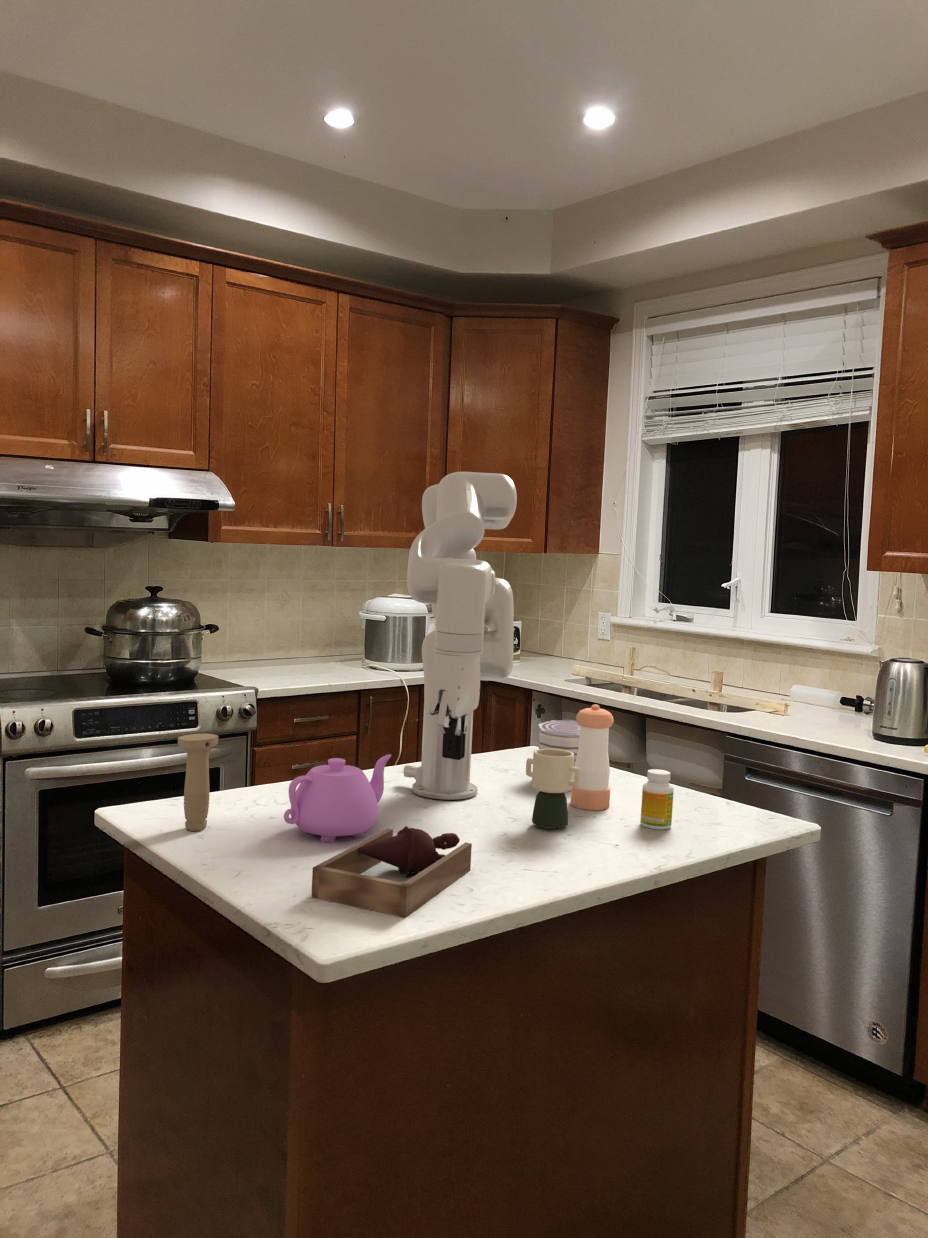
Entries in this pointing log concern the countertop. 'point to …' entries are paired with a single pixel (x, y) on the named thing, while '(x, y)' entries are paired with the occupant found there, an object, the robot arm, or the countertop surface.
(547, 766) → the character mug
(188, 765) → the handle
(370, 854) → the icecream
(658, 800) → the supplement bottle
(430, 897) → the frame
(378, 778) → the teapot
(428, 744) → the robot arm
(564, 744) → the can
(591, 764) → the salt shaker
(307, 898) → the countertop surface
